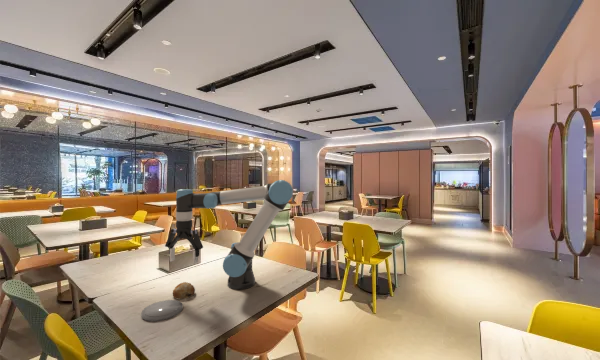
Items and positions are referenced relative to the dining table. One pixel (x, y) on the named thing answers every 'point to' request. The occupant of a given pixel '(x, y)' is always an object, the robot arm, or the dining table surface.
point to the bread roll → (183, 291)
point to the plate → (162, 310)
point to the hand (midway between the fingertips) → (183, 261)
